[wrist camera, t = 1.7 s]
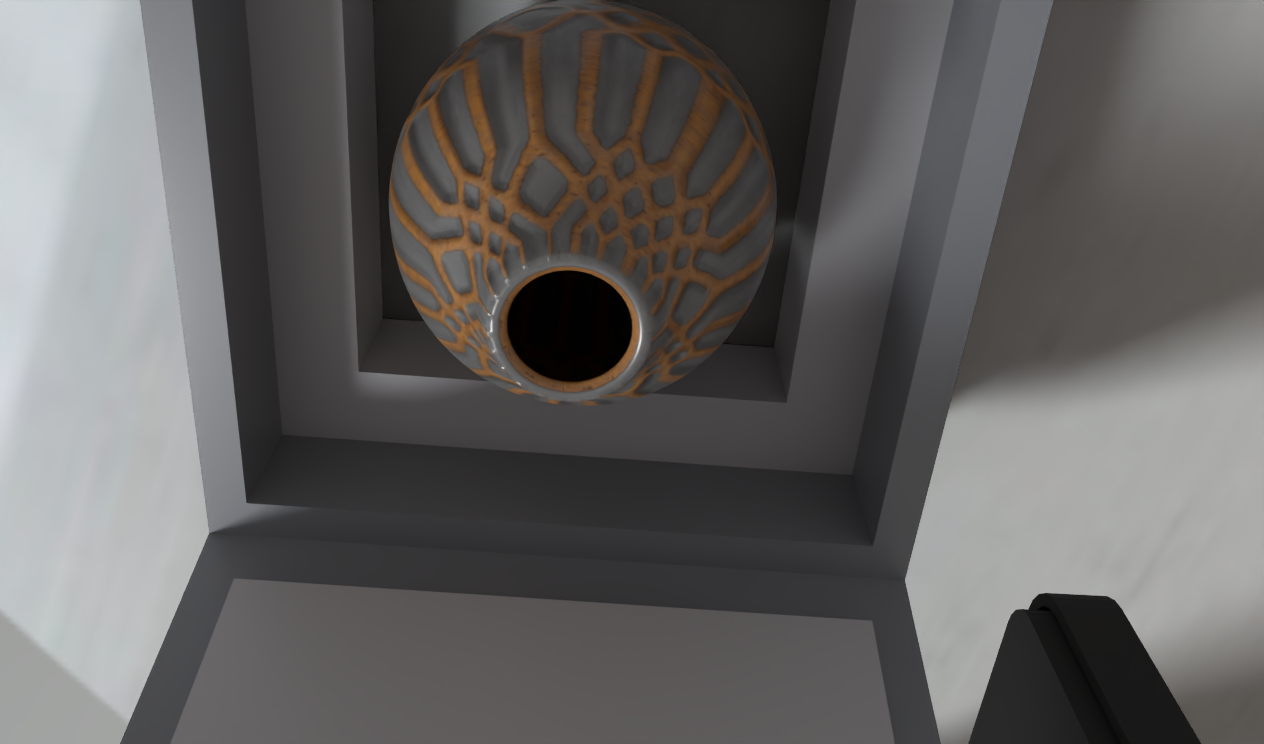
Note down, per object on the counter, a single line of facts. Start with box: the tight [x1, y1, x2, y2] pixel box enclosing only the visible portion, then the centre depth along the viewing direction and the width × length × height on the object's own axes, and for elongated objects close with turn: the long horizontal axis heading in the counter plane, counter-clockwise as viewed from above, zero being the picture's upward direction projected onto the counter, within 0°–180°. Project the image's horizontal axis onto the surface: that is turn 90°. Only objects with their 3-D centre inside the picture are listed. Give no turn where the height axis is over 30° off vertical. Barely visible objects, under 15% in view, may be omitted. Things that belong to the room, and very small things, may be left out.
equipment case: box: [140, 0, 1053, 580], centre depth 21 cm, size 14×15×5 cm
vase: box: [389, 0, 777, 406], centre depth 20 cm, size 7×7×9 cm
